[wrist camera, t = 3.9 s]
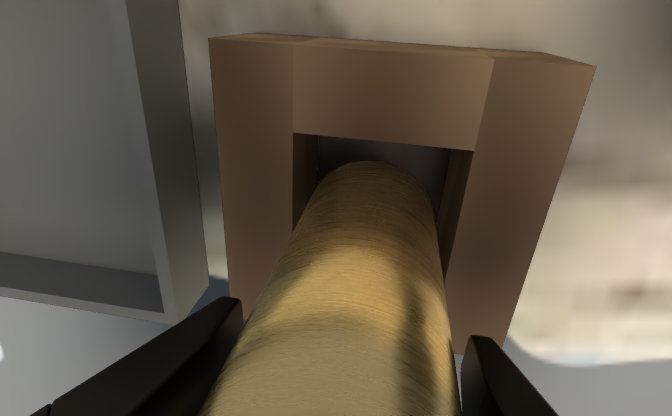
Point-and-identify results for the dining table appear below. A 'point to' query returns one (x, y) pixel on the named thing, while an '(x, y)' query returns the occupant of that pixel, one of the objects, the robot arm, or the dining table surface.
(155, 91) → the charcoal tray
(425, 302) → the brass pin
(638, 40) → the dining table surface
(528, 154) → the walnut block
